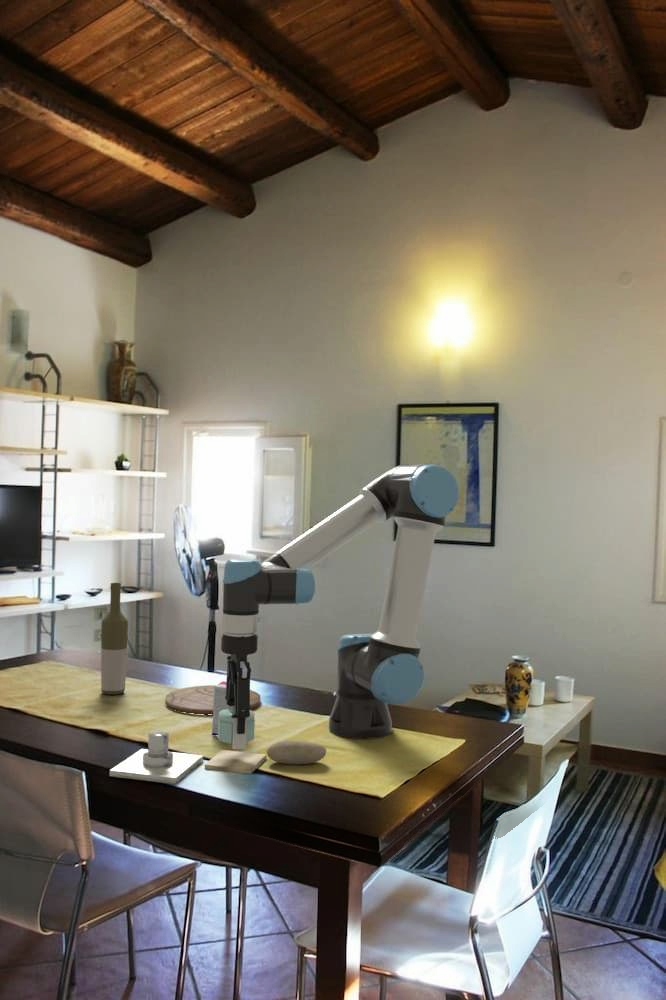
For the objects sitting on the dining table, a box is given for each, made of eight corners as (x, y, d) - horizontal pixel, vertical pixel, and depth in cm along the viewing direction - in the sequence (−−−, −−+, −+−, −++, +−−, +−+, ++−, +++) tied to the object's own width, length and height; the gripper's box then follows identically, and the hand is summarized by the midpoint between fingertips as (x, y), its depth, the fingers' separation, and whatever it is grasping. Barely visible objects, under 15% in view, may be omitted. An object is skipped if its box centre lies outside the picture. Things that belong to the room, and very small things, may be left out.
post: (203, 761, 176) (203, 728, 176) (175, 784, 163) (176, 748, 163) (141, 754, 180) (142, 721, 179) (109, 776, 166) (110, 741, 166)
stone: (264, 746, 179) (317, 728, 182) (272, 776, 178) (326, 757, 180) (265, 745, 174) (320, 727, 176) (274, 776, 172) (329, 757, 175)
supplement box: (235, 738, 193) (237, 688, 193) (211, 735, 194) (212, 686, 194) (243, 730, 199) (244, 682, 198) (219, 728, 200) (220, 680, 199)
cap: (256, 742, 173) (257, 712, 173) (221, 744, 171) (222, 714, 171) (249, 731, 180) (250, 703, 180) (215, 733, 178) (216, 704, 178)
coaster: (266, 758, 179) (266, 754, 179) (251, 773, 170) (251, 769, 170) (222, 753, 182) (222, 749, 182) (204, 768, 172) (204, 764, 172)
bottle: (131, 693, 230) (134, 583, 229) (109, 697, 224) (112, 585, 224) (116, 688, 234) (119, 581, 234) (94, 692, 229) (97, 583, 228)
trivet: (222, 722, 206) (222, 715, 206) (145, 706, 218) (145, 699, 218) (278, 701, 227) (278, 694, 227) (205, 687, 240) (205, 681, 240)
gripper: (267, 642, 167) (263, 757, 167) (248, 624, 186) (244, 727, 186) (230, 642, 164) (225, 759, 165) (214, 625, 184) (210, 729, 184)
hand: (235, 742), depth 176 cm, fingers closed on cap, 7 cm apart
